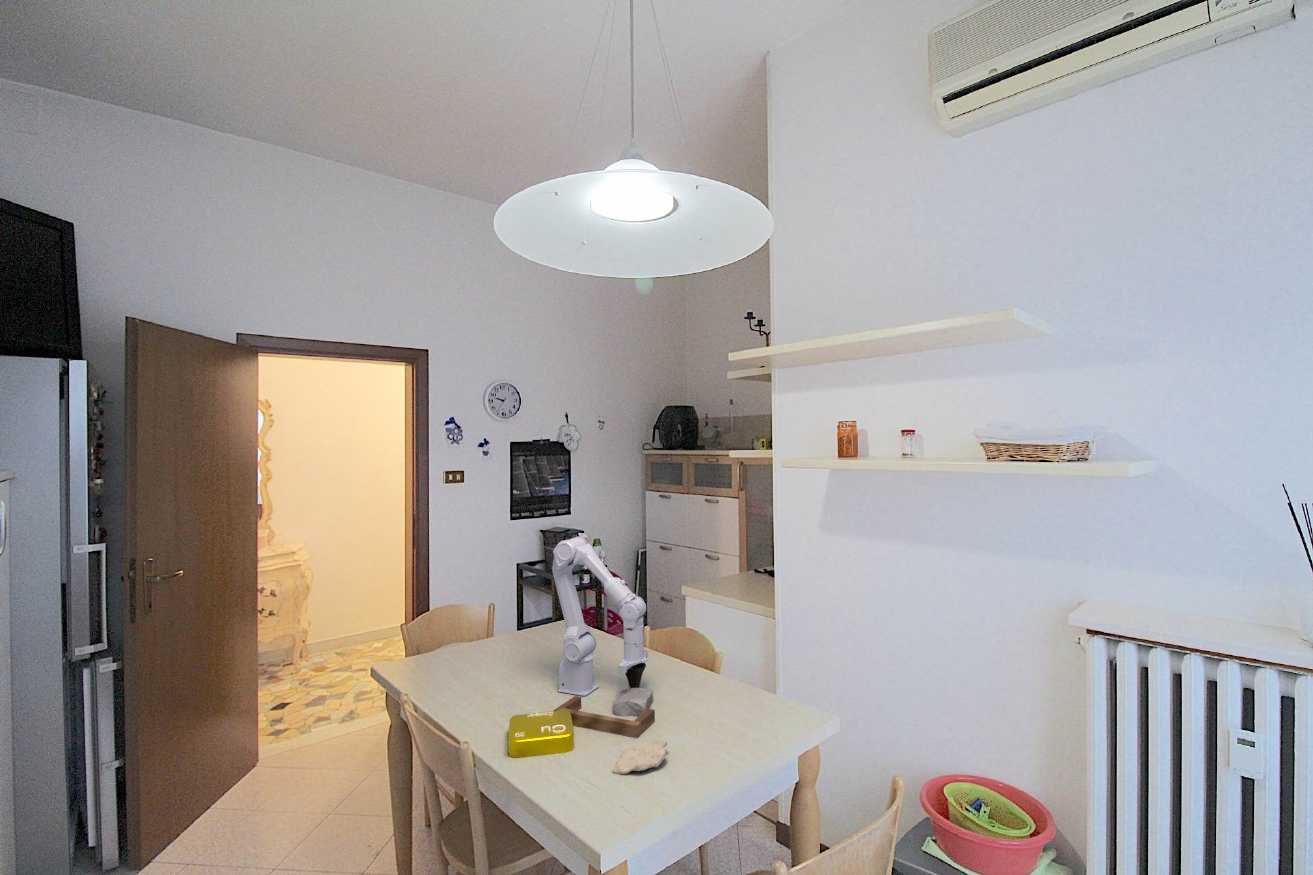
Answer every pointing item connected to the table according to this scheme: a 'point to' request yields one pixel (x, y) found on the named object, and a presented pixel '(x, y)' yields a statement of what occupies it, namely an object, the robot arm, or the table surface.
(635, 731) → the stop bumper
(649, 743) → the decorative stone
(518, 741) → the element tile
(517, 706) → the table surface
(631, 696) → the stone block
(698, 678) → the table surface
